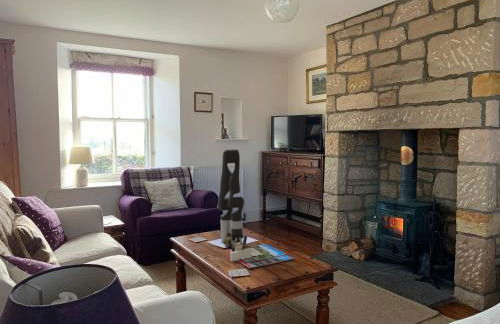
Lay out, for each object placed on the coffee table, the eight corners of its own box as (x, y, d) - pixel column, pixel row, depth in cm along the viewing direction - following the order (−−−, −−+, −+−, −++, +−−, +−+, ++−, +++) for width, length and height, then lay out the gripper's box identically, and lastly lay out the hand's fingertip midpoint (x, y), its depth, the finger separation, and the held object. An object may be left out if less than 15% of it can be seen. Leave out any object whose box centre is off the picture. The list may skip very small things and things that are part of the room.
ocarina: (246, 249, 247) (245, 235, 246) (241, 251, 243) (240, 237, 242) (225, 244, 260) (225, 230, 259) (220, 246, 256) (219, 232, 255)
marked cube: (232, 252, 238) (232, 243, 237) (239, 251, 240) (239, 242, 239) (235, 255, 233) (235, 246, 232) (242, 253, 235) (242, 244, 234)
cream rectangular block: (230, 260, 226) (230, 252, 226) (250, 257, 232) (250, 248, 231) (231, 261, 225) (231, 253, 224) (251, 257, 230) (251, 249, 230)
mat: (243, 249, 246) (243, 249, 246) (252, 248, 249) (252, 247, 249) (253, 257, 232) (253, 256, 232) (262, 255, 234) (262, 254, 234)
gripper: (244, 224, 241) (245, 248, 242) (224, 226, 235) (225, 251, 237) (249, 226, 234) (249, 251, 235) (228, 229, 228) (229, 255, 230)
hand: (237, 251), depth 236 cm, fingers closed on marked cube, 5 cm apart
